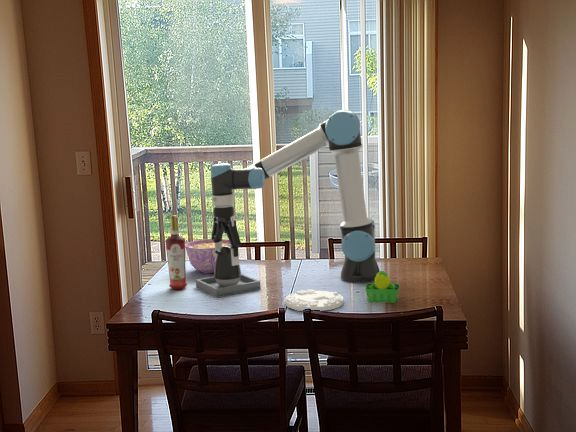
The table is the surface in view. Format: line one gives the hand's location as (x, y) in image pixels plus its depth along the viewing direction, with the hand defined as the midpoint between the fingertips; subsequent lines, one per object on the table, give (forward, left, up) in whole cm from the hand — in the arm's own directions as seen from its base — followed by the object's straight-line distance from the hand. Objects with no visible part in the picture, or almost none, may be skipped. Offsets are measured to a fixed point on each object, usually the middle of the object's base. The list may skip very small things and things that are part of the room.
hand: (227, 262), depth 273 cm
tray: (0, 0, -10) cm, 10 cm away
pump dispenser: (0, 0, -9) cm, 9 cm away
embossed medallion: (-38, -14, -11) cm, 42 cm away
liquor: (+12, +15, -10) cm, 22 cm away
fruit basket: (-50, -34, -10) cm, 61 cm away
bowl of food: (+30, -7, -10) cm, 33 cm away
